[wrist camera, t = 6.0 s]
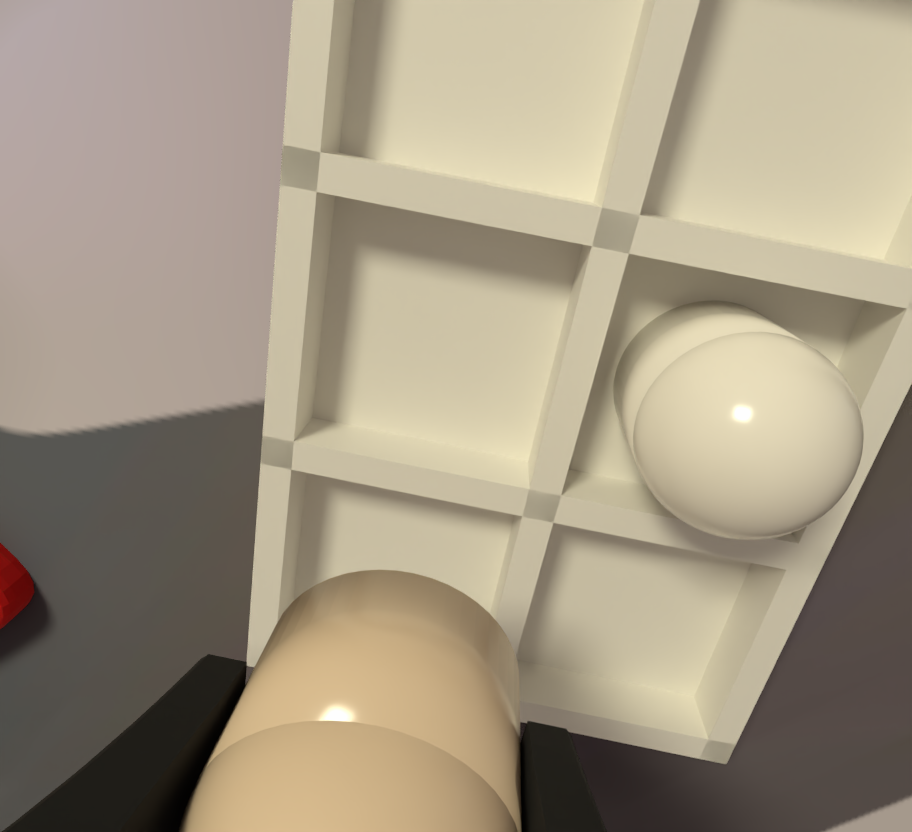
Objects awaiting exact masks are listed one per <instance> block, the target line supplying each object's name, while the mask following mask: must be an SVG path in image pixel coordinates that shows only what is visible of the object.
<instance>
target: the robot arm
mask: <svg viewBox="0 0 912 832" xmlns="http://www.w3.org/2000/svg"><path fill="white" fill-rule="evenodd" d="M246 667H247V662H243V661H239V660H234V659H229V658H224V657H219V656H215V655H210V654H209V655H207V656H205V657H203V658H201V659H200V660H199V661H198V662H197V663H196V664H195V665H194V666H193V667H192V668H191V669H190V670H189V671H188V672H187V673H186V674H185V675H184V676H183V677H182V678H181V679H180V680H179V681H178V682H177V683H176V684H175V685H174V686H173V687H172V688H171V689H170V690H168V691H167V692H166V693H165V694H164V695H163V696H162V697H161V698H160V699H159V700H158V701H157V702H156V703H155V704H154V705H152V706H151V707H150V708H149V709H148V710H147V711H146V712H145V713H144V714H143V715H142V716H140V717H139V718H138V719H137V720H136V721H135V722H134V723H133V724H132V725H131V726H129V727H128V728H127V729H126V730H125V731H124V732H123V733H121V734H120V735H119V736H118V737H117V738H116V739H114V740H113V741H112V742H111V743H110V744H109V745H108V746H106V747H105V748H104V749H103V750H102V751H101V752H100V753H98V754H97V755H96V756H95V757H94V758H93V759H91V760H90V761H89V762H88V763H87V764H86V765H85V766H83V767H82V768H81V769H80V770H79V771H77V772H76V773H75V774H74V775H73V776H71V777H70V778H69V779H68V780H66V781H65V782H64V783H63V784H61V785H60V786H59V787H58V788H56V789H55V790H54V791H53V792H51V793H50V794H49V795H48V796H46V797H45V798H44V799H43V800H41V801H40V802H39V803H38V804H36V805H35V806H34V807H33V808H31V809H30V810H29V811H28V812H26V813H25V814H24V815H23V816H21V817H20V818H19V819H18V820H16V821H15V822H14V823H13V824H11V825H10V826H9V827H7V828H6V829H5V830H3V831H2V832H178V830H179V827H180V823H181V820H182V817H183V814H184V811H185V808H186V806H187V803H188V801H189V798H190V796H191V794H192V791H193V789H194V787H195V784H196V782H197V780H198V778H199V776H200V774H201V772H202V770H203V768H204V766H205V764H206V762H207V760H208V758H209V756H210V754H211V752H212V750H213V748H214V746H215V744H216V742H217V740H218V739H219V737H220V735H221V733H222V731H223V729H224V727H225V725H226V723H227V721H228V719H229V717H230V715H231V713H232V711H233V709H234V707H235V705H236V703H237V701H238V699H239V697H240V695H241V693H242V691H243V689H244V687H245V679H246ZM520 750H521V820H522V832H607V831H606V828H605V826H604V824H603V821H602V819H601V816H600V814H599V811H598V808H597V806H596V803H595V801H594V798H593V796H592V793H591V791H590V788H589V785H588V783H587V780H586V777H585V775H584V772H583V769H582V766H581V763H580V761H579V758H578V755H577V752H576V749H575V746H574V743H573V740H572V737H571V735H570V733H569V732H568V731H567V729H565V728H560V727H556V726H551V725H546V724H541V723H536V722H532V721H527V724H526V728H525V731H524V734H523V737H522V740H521V744H520Z"/></svg>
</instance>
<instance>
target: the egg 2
mask: <svg viewBox="0 0 912 832" xmlns="http://www.w3.org/2000/svg"><path fill="white" fill-rule="evenodd" d="M613 399H614V405H615V410H616V413H617V416H618V419H619V421H620V424H621V426H622V429H623V432H624V434H625V437H626V439H627V442H628V444H629V447H630V449H631V452H632V454H633V457H634V459H635V462H636V464H637V467H638V469H639V472H640V474H641V476H642V478H643V479H644V481H645V483H646V485H647V487H648V488H649V490H650V491H651V492H652V494H653V495H654V496H655V498H656V499H657V500H658V501H659V502H660V503H661V504H662V505H663V506H664V507H665V508H666V509H667V510H668V511H669V512H670V513H672V514H673V515H674V516H676V517H677V518H678V519H680V520H682V521H683V522H685V523H687V524H688V525H690V526H692V527H694V528H696V529H698V530H701V531H703V532H706V533H708V534H712V535H716V536H719V537H723V538H728V539H735V540H760V539H769V538H775V537H780V536H783V535H786V534H790V533H792V532H795V531H797V530H800V529H802V528H804V527H806V526H808V525H810V524H812V523H813V522H815V521H816V520H818V519H819V518H821V517H822V516H823V515H825V514H826V513H827V512H828V511H829V510H830V509H832V508H833V507H834V505H835V504H836V503H837V502H838V501H839V500H840V499H841V498H842V496H843V495H844V494H845V492H846V491H847V489H848V488H849V486H850V484H851V482H852V480H853V479H854V477H855V474H856V472H857V469H858V467H859V464H860V460H861V456H862V451H863V439H864V430H863V420H862V416H861V411H860V408H859V404H858V401H857V399H856V396H855V394H854V392H853V390H852V388H851V387H850V385H849V383H848V382H847V380H846V379H845V377H844V376H843V374H842V373H841V372H840V371H839V369H838V368H837V367H836V366H835V365H834V364H833V363H832V362H831V361H830V360H829V359H827V358H826V357H825V356H824V355H823V354H821V353H820V352H819V351H818V350H816V349H815V348H813V347H812V346H810V345H808V344H807V343H805V342H804V341H802V340H801V339H799V338H797V337H796V336H794V335H793V334H791V333H790V332H788V331H786V330H785V329H783V328H782V327H780V326H779V325H777V324H775V323H774V322H772V321H771V320H769V319H768V318H766V317H764V316H763V315H761V314H760V313H758V312H756V311H755V310H753V309H750V308H748V307H746V306H743V305H740V304H736V303H733V302H727V301H699V302H693V303H689V304H685V305H681V306H679V307H676V308H673V309H671V310H669V311H667V312H665V313H663V314H661V315H659V316H658V317H656V318H655V319H654V320H652V321H651V322H649V323H648V324H647V325H646V326H645V327H643V328H642V329H641V330H640V331H639V332H638V333H637V334H636V336H635V337H634V338H633V339H632V340H631V342H630V343H629V345H628V346H627V347H626V349H625V351H624V353H623V354H622V356H621V358H620V361H619V363H618V366H617V369H616V373H615V377H614V385H613Z"/></svg>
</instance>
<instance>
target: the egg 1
mask: <svg viewBox="0 0 912 832" xmlns="http://www.w3.org/2000/svg"><path fill="white" fill-rule="evenodd" d="M178 832H522V820H521V750H520V680H519V669H518V663H517V659H516V656H515V652H514V649H513V647H512V645H511V643H510V641H509V639H508V637H507V635H506V634H505V632H504V631H503V629H502V628H501V626H500V625H499V624H498V622H497V621H496V620H495V619H494V618H493V617H492V616H491V614H490V613H489V612H488V611H486V610H485V609H484V608H483V607H482V606H481V605H480V604H478V603H477V602H476V601H474V600H473V599H472V598H470V597H469V596H467V595H466V594H464V593H463V592H461V591H459V590H457V589H455V588H453V587H452V586H450V585H448V584H445V583H443V582H440V581H438V580H435V579H433V578H429V577H426V576H422V575H418V574H415V573H409V572H403V571H397V570H365V571H357V572H352V573H346V574H342V575H339V576H336V577H333V578H329V579H327V580H325V581H323V582H321V583H319V584H316V585H315V586H313V587H311V588H310V589H308V590H307V591H305V592H304V593H302V594H301V595H300V596H299V597H298V598H296V599H295V600H294V601H293V602H292V603H291V604H290V605H289V606H288V608H287V609H286V610H285V611H284V612H283V614H282V615H281V617H280V619H279V621H278V622H277V624H276V626H275V628H274V630H273V632H272V634H271V636H270V638H269V640H268V642H267V644H266V646H265V648H264V650H263V652H262V654H261V655H260V657H259V659H258V661H257V663H256V665H255V667H254V669H253V671H252V673H251V675H250V677H249V679H248V681H247V683H246V685H245V687H244V689H243V691H242V693H241V695H240V697H239V699H238V701H237V703H236V705H235V707H234V709H233V711H232V713H231V715H230V717H229V719H228V721H227V723H226V725H225V727H224V729H223V731H222V733H221V735H220V737H219V739H218V740H217V742H216V744H215V746H214V748H213V750H212V752H211V754H210V756H209V758H208V760H207V762H206V764H205V766H204V768H203V770H202V772H201V774H200V776H199V778H198V780H197V782H196V784H195V787H194V789H193V791H192V794H191V796H190V798H189V801H188V803H187V806H186V808H185V811H184V814H183V817H182V820H181V823H180V827H179V830H178Z"/></svg>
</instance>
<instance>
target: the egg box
mask: <svg viewBox="0 0 912 832" xmlns="http://www.w3.org/2000/svg"><path fill="white" fill-rule="evenodd" d="M273 280H274V281H273V294H272V308H271V323H270V337H269V350H268V365H267V379H266V393H265V407H264V422H263V436H262V450H261V464H260V479H259V493H258V507H257V521H256V536H255V550H254V564H253V579H252V593H251V607H250V621H249V636H248V650H247V666H251V667H255V665H256V663H257V661H258V659H259V657H260V655H261V654H262V652H263V650H264V648H265V646H266V644H267V642H268V640H269V638H270V636H271V634H272V632H273V630H274V628H275V626H276V624H277V622H278V621H279V619H280V617H281V615H282V614H283V612H284V611H285V610H286V609H287V608H288V606H289V605H290V604H291V603H292V602H293V601H294V600H295V599H296V598H298V597H299V596H300V595H301V594H302V593H304V592H305V591H307V590H308V589H310V588H311V587H313V586H315V585H316V584H319V583H321V582H323V581H325V580H327V579H329V578H333V577H336V576H339V575H342V574H346V573H352V572H357V571H365V570H397V571H403V572H409V573H415V574H418V575H422V576H426V577H429V578H433V579H435V580H438V581H440V582H443V583H445V584H448V585H450V586H452V587H453V588H455V589H457V590H459V591H461V592H463V593H464V594H466V595H467V596H469V597H470V598H472V599H473V600H474V601H476V602H477V603H478V604H480V605H481V606H482V607H483V608H484V609H485V610H486V611H488V612H489V613H490V614H491V616H492V617H493V618H494V619H495V620H496V621H497V622H498V624H499V625H500V626H501V628H502V629H503V631H504V632H505V634H506V635H507V637H508V639H509V641H510V643H511V645H512V647H513V649H514V652H515V656H516V659H517V663H518V669H519V680H520V722H523V723H527V721H532V722H536V723H541V724H546V725H551V726H556V727H560V728H565V729H567V731H568V732H572V733H577V734H581V735H586V736H591V737H596V738H601V739H606V740H611V741H615V742H620V743H625V744H630V745H635V746H640V747H645V748H649V749H654V750H659V751H664V752H669V753H674V754H679V755H683V756H688V757H693V758H698V759H703V760H708V761H713V762H717V763H722V764H727V762H728V760H729V758H730V756H731V754H732V751H733V749H734V747H735V745H736V743H737V741H738V739H739V737H740V735H741V733H742V731H743V729H744V727H745V725H746V723H747V721H748V719H749V717H750V715H751V712H752V710H753V708H754V706H755V704H756V702H757V700H758V698H759V696H760V694H761V692H762V690H763V688H764V686H765V684H766V682H767V680H768V678H769V675H770V673H771V671H772V669H773V667H774V665H775V663H776V661H777V659H778V657H779V655H780V653H781V651H782V649H783V647H784V645H785V643H786V641H787V638H788V636H789V634H790V632H791V630H792V628H793V626H794V624H795V622H796V620H797V618H798V616H799V614H800V612H801V610H802V608H803V606H804V604H805V601H806V599H807V597H808V595H809V593H810V591H811V589H812V587H813V585H814V583H815V581H816V579H817V577H818V575H819V573H820V571H821V569H822V567H823V564H824V562H825V560H826V558H827V556H828V554H829V552H830V550H831V548H832V546H833V544H834V542H835V540H836V538H837V536H838V534H839V532H840V530H841V527H842V525H843V523H844V521H845V519H846V517H847V515H848V513H849V511H850V509H851V507H852V505H853V503H854V501H855V499H856V497H857V495H858V493H859V490H860V488H861V486H862V484H863V482H864V480H865V478H866V476H867V474H868V472H869V470H870V468H871V466H872V464H873V462H874V460H875V458H876V456H877V453H878V451H879V449H880V447H881V445H882V443H883V441H884V439H885V437H886V435H887V433H888V431H889V429H890V427H891V425H892V423H893V421H894V419H895V416H896V414H897V412H898V410H899V408H900V406H901V404H902V402H903V400H904V398H905V396H906V394H907V392H908V390H909V388H910V386H911V384H912V0H293V8H292V22H291V37H290V50H289V65H288V80H287V93H286V108H285V123H284V137H283V151H282V165H281V179H280V193H279V207H278V222H277V236H276V251H275V265H274V279H273ZM699 301H727V302H733V303H736V304H740V305H743V306H746V307H748V308H750V309H753V310H755V311H756V312H758V313H760V314H761V315H763V316H764V317H766V318H768V319H769V320H771V321H772V322H774V323H775V324H777V325H779V326H780V327H782V328H783V329H785V330H786V331H788V332H790V333H791V334H793V335H794V336H796V337H797V338H799V339H801V340H802V341H804V342H805V343H807V344H808V345H810V346H812V347H813V348H815V349H816V350H818V351H819V352H820V353H821V354H823V355H824V356H825V357H826V358H827V359H829V360H830V361H831V362H832V363H833V364H834V365H835V366H836V367H837V368H838V369H839V371H840V372H841V373H842V374H843V376H844V377H845V379H846V380H847V382H848V383H849V385H850V387H851V388H852V390H853V392H854V394H855V396H856V399H857V401H858V404H859V408H860V411H861V416H862V420H863V430H864V439H863V451H862V456H861V460H860V464H859V467H858V469H857V472H856V474H855V477H854V479H853V480H852V482H851V484H850V486H849V488H848V489H847V491H846V492H845V494H844V495H843V496H842V498H841V499H840V500H839V501H838V502H837V503H836V504H835V505H834V507H833V508H832V509H830V510H829V511H828V512H827V513H826V514H825V515H823V516H822V517H821V518H819V519H818V520H816V521H815V522H813V523H812V524H810V525H808V526H806V527H804V528H802V529H800V530H797V531H795V532H792V533H790V534H786V535H783V536H780V537H775V538H769V539H760V540H735V539H728V538H723V537H719V536H716V535H712V534H708V533H706V532H703V531H701V530H698V529H696V528H694V527H692V526H690V525H688V524H687V523H685V522H683V521H682V520H680V519H678V518H677V517H676V516H674V515H673V514H672V513H670V512H669V511H668V510H667V509H666V508H665V507H664V506H663V505H662V504H661V503H660V502H659V501H658V500H657V499H656V498H655V496H654V495H653V494H652V492H651V491H650V490H649V488H648V487H647V485H646V483H645V481H644V479H643V478H642V476H641V474H640V472H639V469H638V467H637V464H636V462H635V459H634V457H633V454H632V452H631V449H630V447H629V444H628V442H627V439H626V437H625V434H624V432H623V429H622V426H621V424H620V421H619V419H618V416H617V413H616V410H615V405H614V399H613V385H614V377H615V373H616V369H617V366H618V363H619V361H620V358H621V356H622V354H623V353H624V351H625V349H626V347H627V346H628V345H629V343H630V342H631V340H632V339H633V338H634V337H635V336H636V334H637V333H638V332H639V331H640V330H641V329H642V328H643V327H645V326H646V325H647V324H648V323H649V322H651V321H652V320H654V319H655V318H656V317H658V316H659V315H661V314H663V313H665V312H667V311H669V310H671V309H673V308H676V307H679V306H681V305H685V304H689V303H693V302H699Z"/></svg>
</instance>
